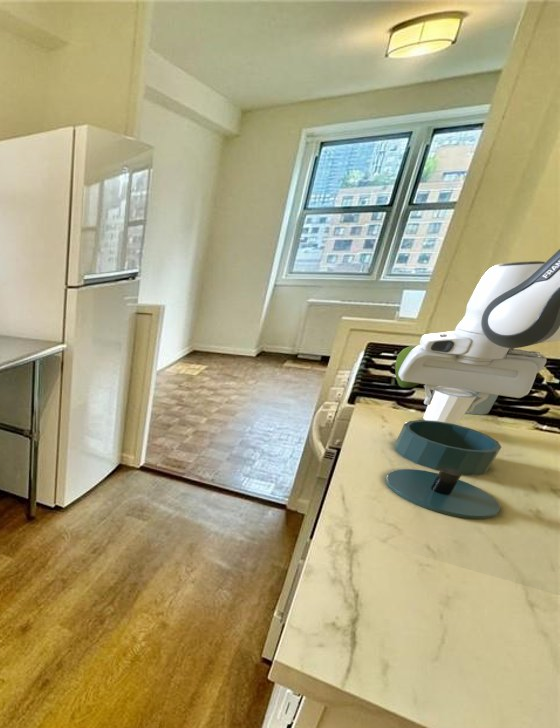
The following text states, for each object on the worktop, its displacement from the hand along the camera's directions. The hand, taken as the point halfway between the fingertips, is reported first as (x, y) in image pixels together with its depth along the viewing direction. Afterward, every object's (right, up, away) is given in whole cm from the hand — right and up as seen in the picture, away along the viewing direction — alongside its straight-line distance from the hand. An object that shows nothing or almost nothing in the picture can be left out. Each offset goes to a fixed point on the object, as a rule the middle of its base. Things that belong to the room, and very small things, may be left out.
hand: (446, 407), depth 105 cm
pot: (-12, -11, -10) cm, 20 cm away
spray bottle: (+16, +1, +12) cm, 20 cm away
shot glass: (0, -3, +2) cm, 4 cm away
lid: (-24, -17, -22) cm, 36 cm away
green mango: (+13, +7, +24) cm, 29 cm away
